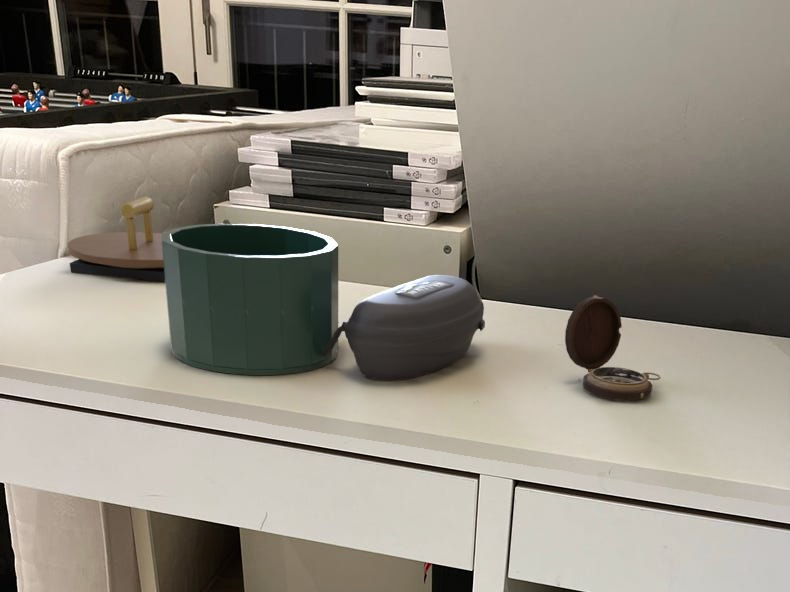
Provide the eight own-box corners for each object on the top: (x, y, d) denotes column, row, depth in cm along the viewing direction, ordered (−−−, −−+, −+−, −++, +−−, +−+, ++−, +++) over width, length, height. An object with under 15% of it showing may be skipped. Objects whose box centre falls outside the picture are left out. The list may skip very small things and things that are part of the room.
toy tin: (146, 365, 82) (134, 246, 77) (202, 322, 95) (195, 218, 90) (316, 382, 82) (315, 264, 77) (350, 337, 94) (351, 233, 89)
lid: (43, 264, 106) (34, 203, 103) (103, 239, 119) (97, 184, 116) (187, 278, 105) (182, 217, 102) (231, 252, 119) (227, 197, 116)
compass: (615, 407, 83) (629, 319, 79) (555, 379, 88) (565, 296, 84) (681, 395, 87) (697, 311, 83) (620, 370, 92) (632, 290, 88)
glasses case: (427, 387, 80) (399, 290, 77) (326, 407, 85) (297, 317, 82) (515, 339, 94) (494, 255, 91) (423, 358, 99) (401, 280, 96)
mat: (70, 272, 108) (69, 263, 107) (114, 252, 118) (113, 243, 118) (177, 283, 108) (176, 273, 107) (211, 262, 118) (211, 253, 117)
